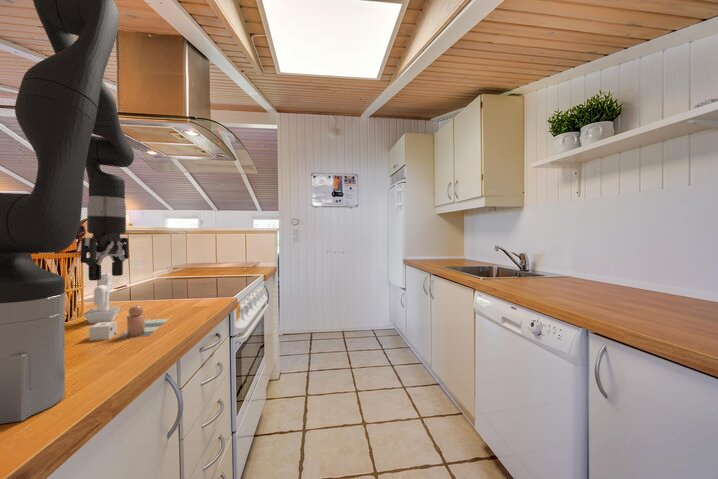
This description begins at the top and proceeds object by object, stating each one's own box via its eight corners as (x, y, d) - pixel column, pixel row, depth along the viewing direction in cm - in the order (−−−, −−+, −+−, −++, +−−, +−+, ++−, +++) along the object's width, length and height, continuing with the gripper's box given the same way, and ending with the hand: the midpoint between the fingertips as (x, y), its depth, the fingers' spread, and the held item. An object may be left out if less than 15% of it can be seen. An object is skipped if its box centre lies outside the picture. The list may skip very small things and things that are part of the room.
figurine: (81, 328, 81) (81, 275, 81) (92, 319, 89) (92, 271, 89) (114, 324, 84) (114, 274, 84) (121, 316, 93) (122, 270, 92)
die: (108, 341, 72) (108, 325, 72) (89, 343, 70) (89, 327, 70) (117, 336, 75) (117, 321, 75) (98, 337, 74) (98, 322, 74)
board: (148, 338, 74) (148, 335, 74) (115, 340, 72) (115, 338, 72) (169, 320, 89) (169, 318, 89) (143, 322, 87) (143, 320, 87)
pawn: (141, 336, 74) (141, 306, 74) (124, 337, 73) (124, 307, 73) (146, 331, 77) (146, 303, 77) (131, 332, 76) (131, 304, 76)
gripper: (104, 213, 67) (104, 281, 68) (139, 217, 81) (138, 274, 82) (67, 212, 66) (67, 282, 66) (109, 216, 80) (108, 274, 80)
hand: (106, 277), depth 74 cm, fingers open, 8 cm apart
